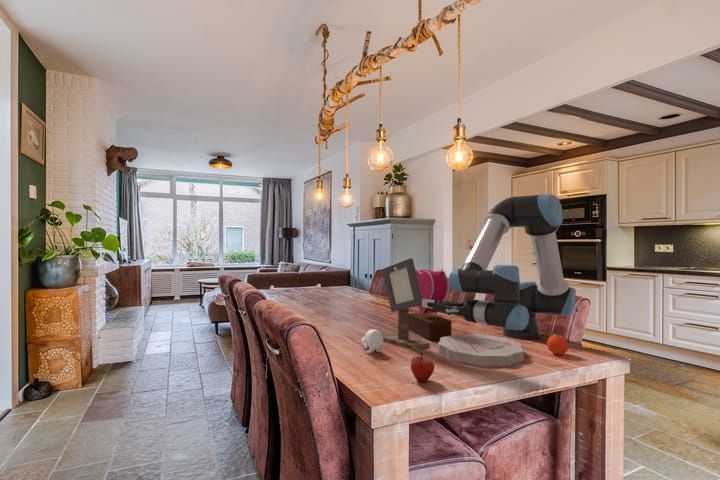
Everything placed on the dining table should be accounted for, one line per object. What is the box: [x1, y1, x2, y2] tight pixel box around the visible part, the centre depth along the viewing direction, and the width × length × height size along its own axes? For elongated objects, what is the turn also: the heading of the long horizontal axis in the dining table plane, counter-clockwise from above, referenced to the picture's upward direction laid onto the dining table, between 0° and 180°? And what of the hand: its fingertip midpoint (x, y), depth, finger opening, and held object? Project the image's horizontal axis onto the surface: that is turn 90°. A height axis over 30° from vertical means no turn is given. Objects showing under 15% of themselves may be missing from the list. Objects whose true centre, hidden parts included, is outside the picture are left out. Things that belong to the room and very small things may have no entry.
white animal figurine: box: [360, 329, 384, 355], centre depth 142 cm, size 6×8×12 cm
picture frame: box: [382, 258, 422, 313], centre depth 150 cm, size 16×3×18 cm, turn 40°
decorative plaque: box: [437, 333, 524, 367], centre depth 139 cm, size 30×4×30 cm
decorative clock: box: [409, 268, 453, 342], centre depth 166 cm, size 25×10×30 cm, turn 17°
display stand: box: [381, 308, 430, 351], centre depth 153 cm, size 22×8×32 cm, turn 40°
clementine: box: [546, 334, 569, 356], centre depth 138 cm, size 8×7×7 cm
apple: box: [408, 347, 435, 383], centre depth 111 cm, size 8×7×10 cm
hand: (423, 302), depth 142 cm, fingers closed
